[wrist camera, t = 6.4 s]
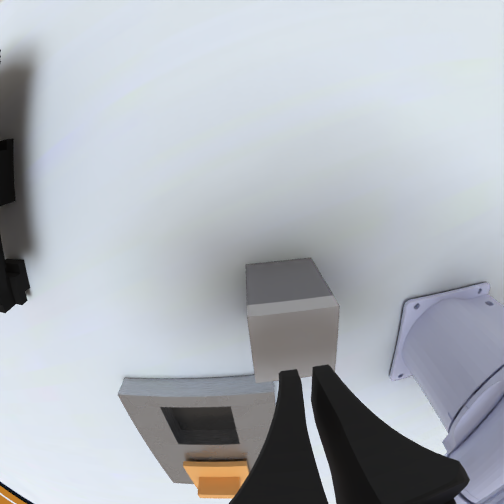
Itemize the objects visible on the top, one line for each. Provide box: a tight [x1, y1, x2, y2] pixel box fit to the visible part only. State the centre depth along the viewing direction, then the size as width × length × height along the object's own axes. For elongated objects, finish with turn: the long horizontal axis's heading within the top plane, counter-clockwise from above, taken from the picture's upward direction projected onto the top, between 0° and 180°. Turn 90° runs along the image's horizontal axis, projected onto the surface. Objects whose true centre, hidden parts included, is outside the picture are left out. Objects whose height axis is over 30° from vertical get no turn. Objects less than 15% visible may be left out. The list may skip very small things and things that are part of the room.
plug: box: [246, 258, 339, 383], centre depth 16 cm, size 4×4×6 cm
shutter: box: [183, 461, 250, 498], centre depth 22 cm, size 6×6×3 cm
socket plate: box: [118, 375, 275, 484], centre depth 23 cm, size 12×16×2 cm
